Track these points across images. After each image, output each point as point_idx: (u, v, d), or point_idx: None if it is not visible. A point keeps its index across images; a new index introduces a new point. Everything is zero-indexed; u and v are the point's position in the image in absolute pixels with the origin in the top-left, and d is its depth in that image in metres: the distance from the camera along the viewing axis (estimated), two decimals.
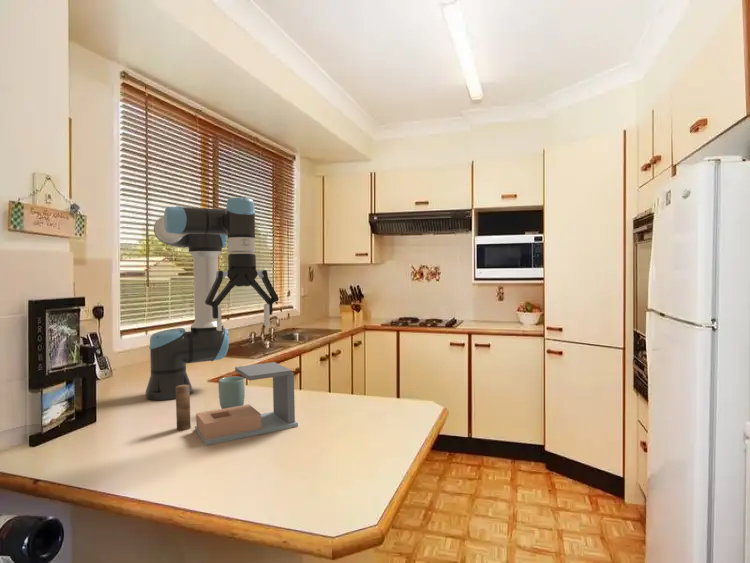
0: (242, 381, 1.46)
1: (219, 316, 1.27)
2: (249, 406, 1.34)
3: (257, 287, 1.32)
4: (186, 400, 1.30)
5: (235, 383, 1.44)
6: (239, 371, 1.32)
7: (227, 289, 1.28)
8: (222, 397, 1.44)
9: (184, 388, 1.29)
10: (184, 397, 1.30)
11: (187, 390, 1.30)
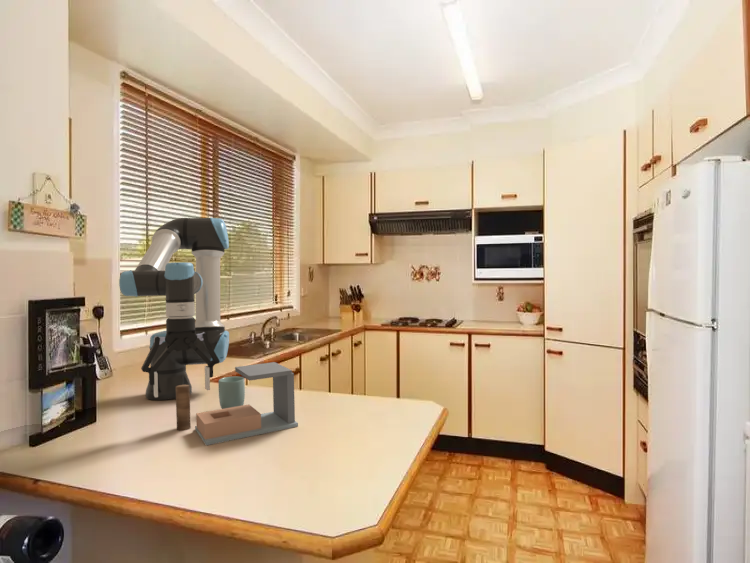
0: (242, 381, 1.46)
1: (155, 382, 1.26)
2: (249, 406, 1.34)
3: (196, 351, 1.31)
4: (186, 400, 1.30)
5: (235, 383, 1.44)
6: (239, 371, 1.32)
7: (164, 355, 1.27)
8: (222, 397, 1.44)
9: (184, 388, 1.29)
10: (184, 397, 1.30)
11: (187, 390, 1.30)
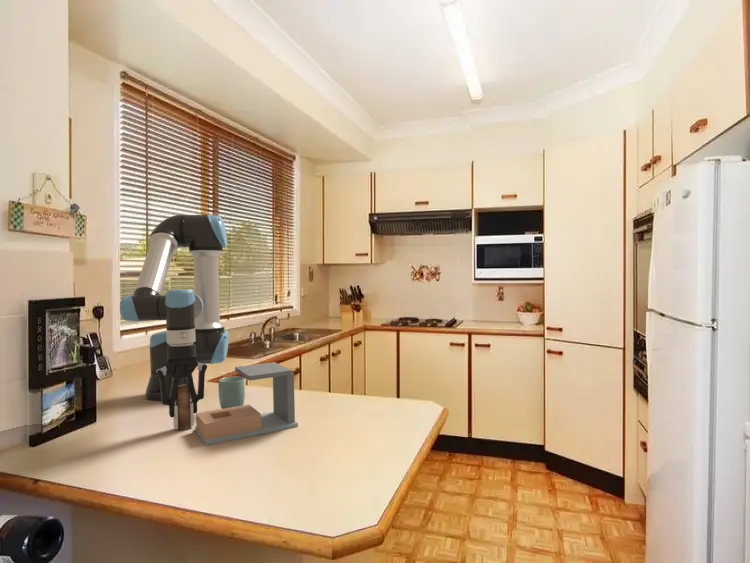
0: (242, 381, 1.46)
1: (175, 415, 1.29)
2: (249, 406, 1.34)
3: (190, 381, 1.31)
4: (186, 400, 1.30)
5: (235, 383, 1.44)
6: (239, 371, 1.32)
7: (174, 385, 1.29)
8: (222, 397, 1.44)
9: (184, 388, 1.29)
10: (184, 397, 1.30)
11: (187, 390, 1.30)
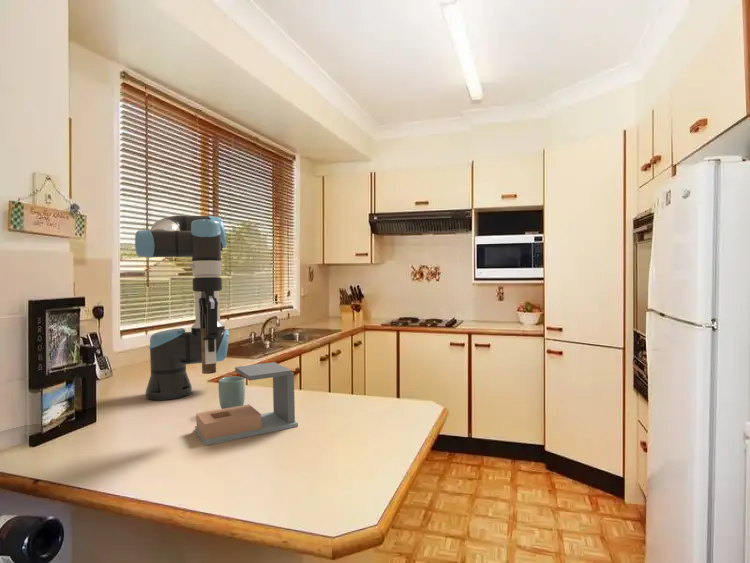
0: (242, 381, 1.46)
1: None
2: (249, 406, 1.34)
3: (204, 316, 1.24)
4: (202, 343, 1.25)
5: (235, 383, 1.44)
6: (239, 371, 1.32)
7: (202, 317, 1.28)
8: (222, 397, 1.44)
9: (201, 330, 1.26)
10: (201, 339, 1.26)
11: (203, 333, 1.25)
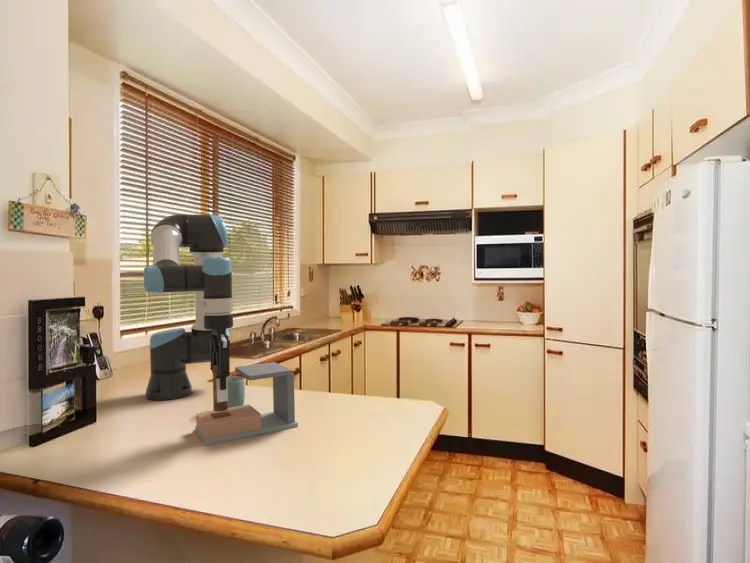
0: (242, 381, 1.46)
1: None
2: (249, 406, 1.34)
3: (216, 354, 1.24)
4: (214, 380, 1.25)
5: (235, 383, 1.44)
6: (239, 371, 1.32)
7: (212, 354, 1.28)
8: None
9: (213, 367, 1.25)
10: (213, 377, 1.25)
11: (215, 370, 1.25)
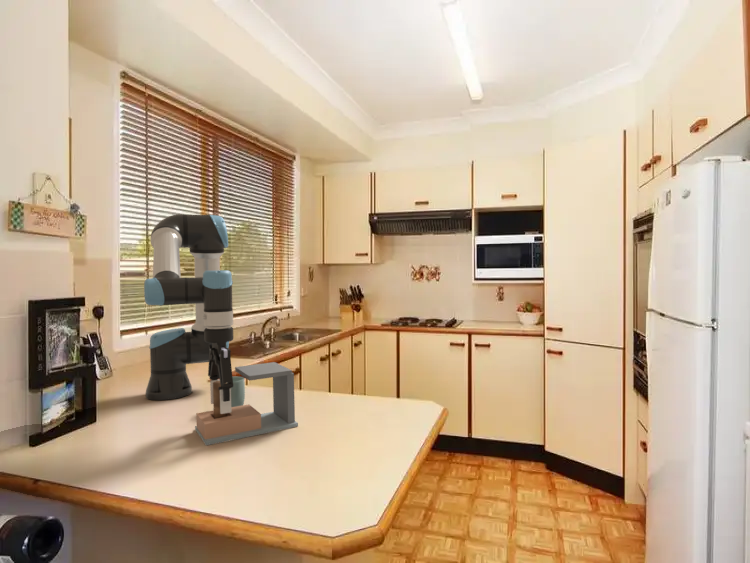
0: (242, 381, 1.46)
1: (210, 389, 1.31)
2: (249, 406, 1.34)
3: (218, 366, 1.23)
4: (214, 397, 1.25)
5: (235, 383, 1.44)
6: (239, 371, 1.32)
7: (211, 363, 1.29)
8: None
9: (213, 384, 1.25)
10: (213, 393, 1.25)
11: (215, 387, 1.25)
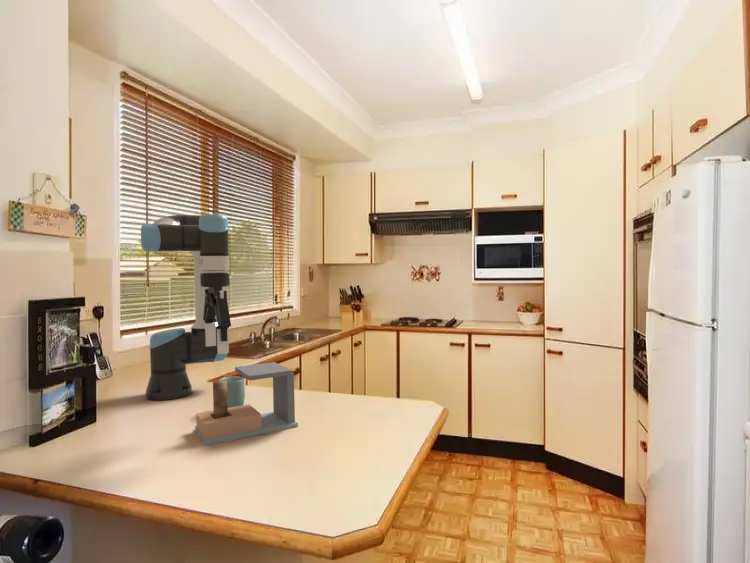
0: (242, 381, 1.46)
1: (205, 332, 1.32)
2: (249, 406, 1.34)
3: (214, 309, 1.23)
4: (214, 397, 1.25)
5: (235, 383, 1.44)
6: (239, 371, 1.32)
7: (207, 307, 1.30)
8: None
9: (213, 384, 1.25)
10: (213, 394, 1.25)
11: (215, 387, 1.25)
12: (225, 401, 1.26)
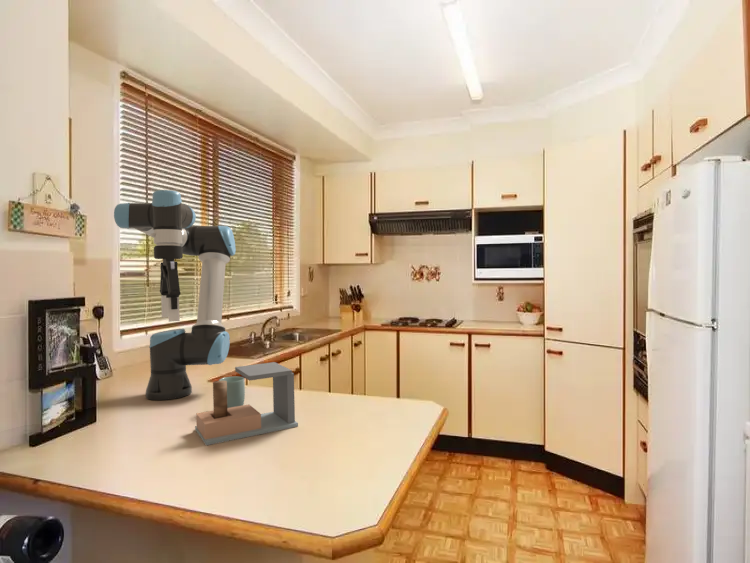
0: (242, 381, 1.46)
1: (161, 304, 1.39)
2: (249, 406, 1.34)
3: (166, 279, 1.29)
4: (214, 397, 1.25)
5: (235, 383, 1.44)
6: (239, 371, 1.32)
7: (162, 280, 1.36)
8: None
9: (213, 384, 1.26)
10: (213, 393, 1.26)
11: (215, 387, 1.25)
12: (225, 401, 1.26)
